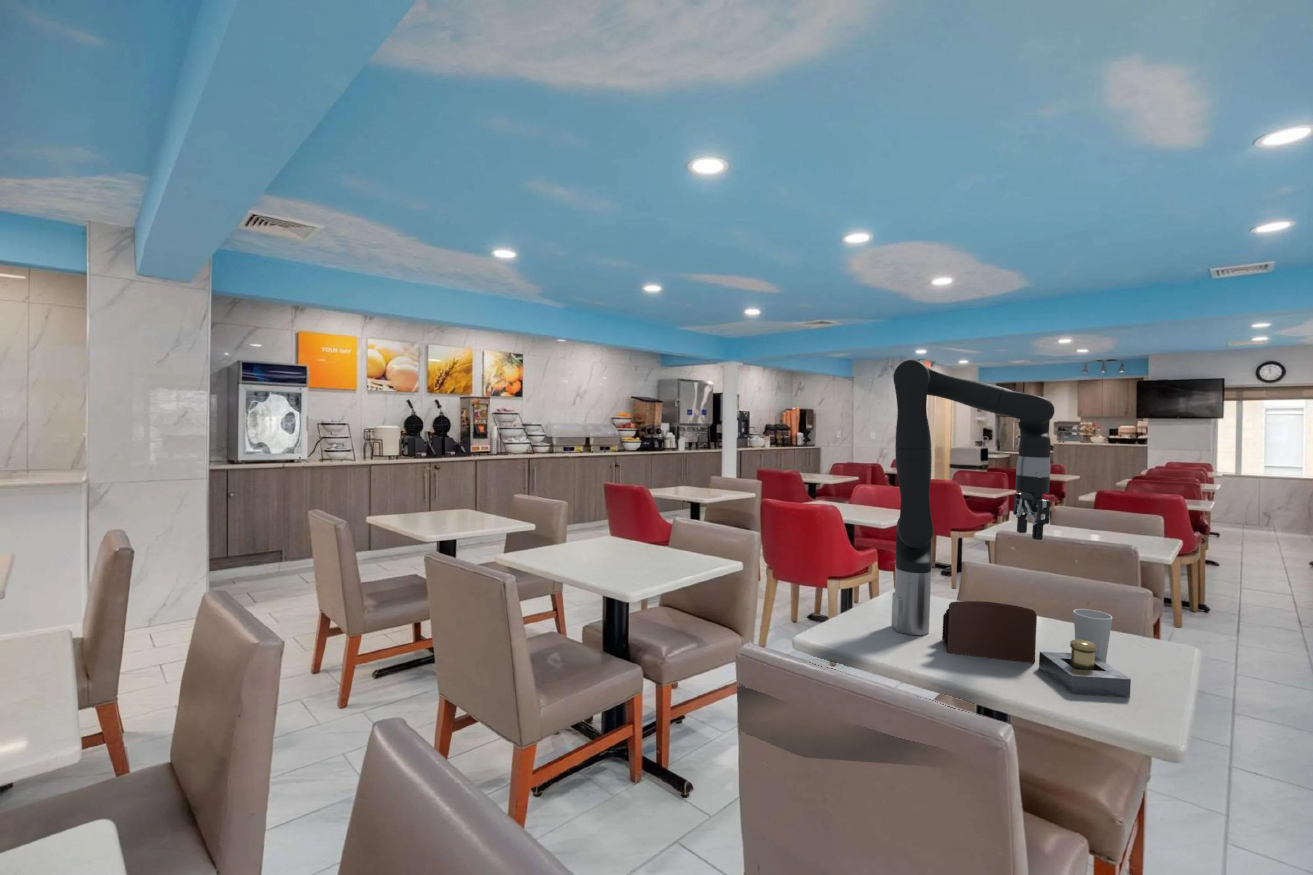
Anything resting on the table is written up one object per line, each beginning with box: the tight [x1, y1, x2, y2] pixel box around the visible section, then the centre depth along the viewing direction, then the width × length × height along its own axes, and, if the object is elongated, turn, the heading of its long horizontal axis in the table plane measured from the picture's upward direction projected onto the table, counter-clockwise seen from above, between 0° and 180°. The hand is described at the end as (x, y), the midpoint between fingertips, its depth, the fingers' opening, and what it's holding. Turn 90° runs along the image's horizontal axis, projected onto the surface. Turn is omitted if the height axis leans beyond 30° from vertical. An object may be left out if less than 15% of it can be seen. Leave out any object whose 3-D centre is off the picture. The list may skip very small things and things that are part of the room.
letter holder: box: [941, 600, 1038, 665], centre depth 162 cm, size 10×20×14 cm, turn 72°
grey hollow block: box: [1038, 651, 1132, 698], centre depth 144 cm, size 12×14×4 cm
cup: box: [1072, 608, 1113, 663], centre depth 156 cm, size 8×8×12 cm
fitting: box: [1069, 639, 1097, 671], centre depth 144 cm, size 5×5×9 cm
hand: (1029, 536), depth 164 cm, fingers open, 8 cm apart
